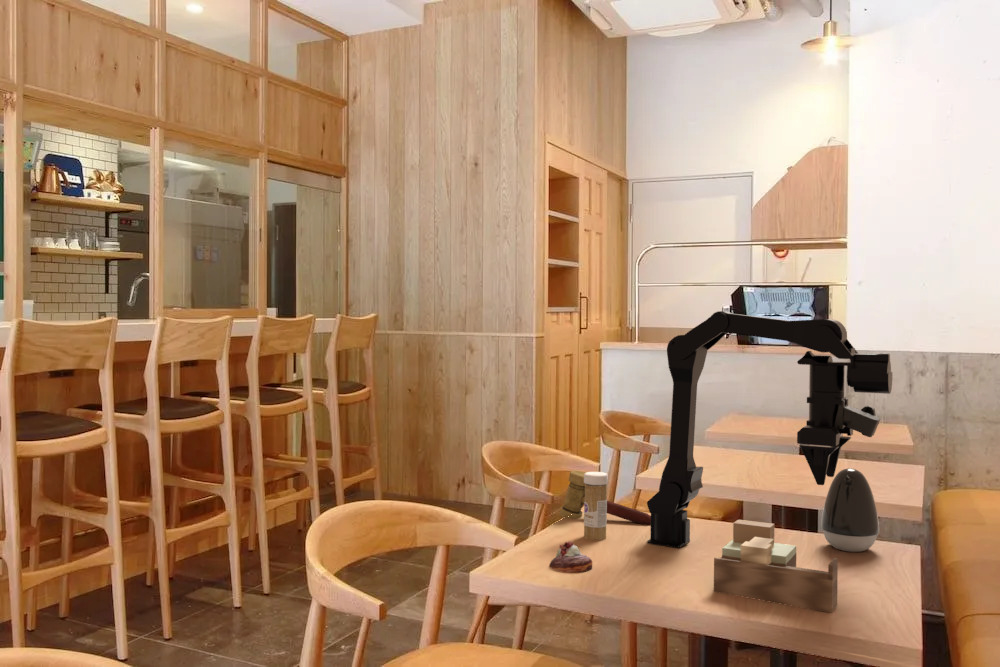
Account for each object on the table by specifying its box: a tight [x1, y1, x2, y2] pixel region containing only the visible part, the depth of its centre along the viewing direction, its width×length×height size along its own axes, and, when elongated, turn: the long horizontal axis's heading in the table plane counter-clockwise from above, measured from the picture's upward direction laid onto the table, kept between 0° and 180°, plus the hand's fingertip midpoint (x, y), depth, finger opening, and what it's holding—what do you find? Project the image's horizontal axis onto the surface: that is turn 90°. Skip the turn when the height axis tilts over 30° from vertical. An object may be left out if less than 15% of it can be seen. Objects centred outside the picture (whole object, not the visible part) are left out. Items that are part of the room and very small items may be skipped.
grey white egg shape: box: [820, 467, 880, 553], centre depth 166 cm, size 10×10×15 cm
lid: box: [721, 519, 797, 564], centre depth 143 cm, size 10×8×4 cm
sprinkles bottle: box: [583, 471, 609, 541], centre depth 170 cm, size 5×5×14 cm
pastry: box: [549, 540, 593, 574], centre depth 151 cm, size 8×8×5 cm
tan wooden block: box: [741, 537, 775, 565], centre depth 139 cm, size 4×7×3 cm, turn 150°
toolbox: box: [713, 553, 839, 614], centre depth 140 cm, size 18×12×7 cm
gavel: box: [559, 470, 651, 526], centre depth 185 cm, size 21×5×10 cm, turn 70°
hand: (825, 480), depth 153 cm, fingers open, 9 cm apart
